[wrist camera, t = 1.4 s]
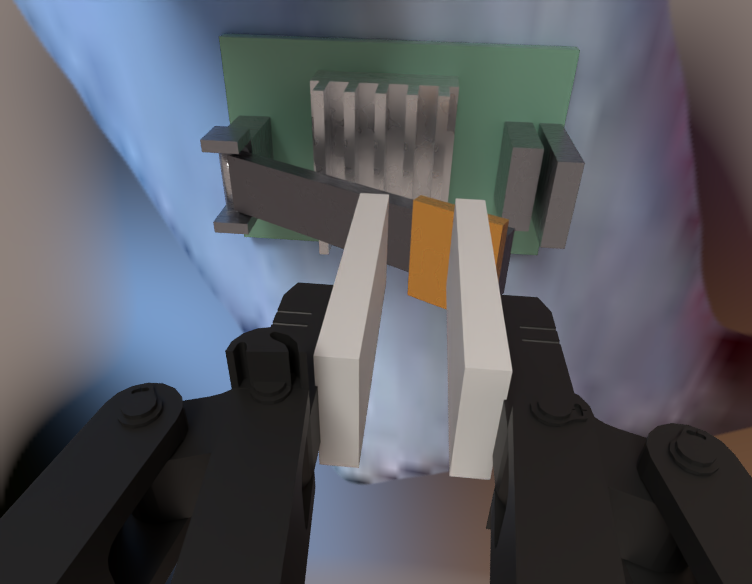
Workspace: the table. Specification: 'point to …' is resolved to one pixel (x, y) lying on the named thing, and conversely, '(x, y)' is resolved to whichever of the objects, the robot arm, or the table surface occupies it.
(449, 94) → the heatsink
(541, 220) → the lug
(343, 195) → the strap
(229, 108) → the board
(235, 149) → the forked tab bracket
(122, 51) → the table surface
